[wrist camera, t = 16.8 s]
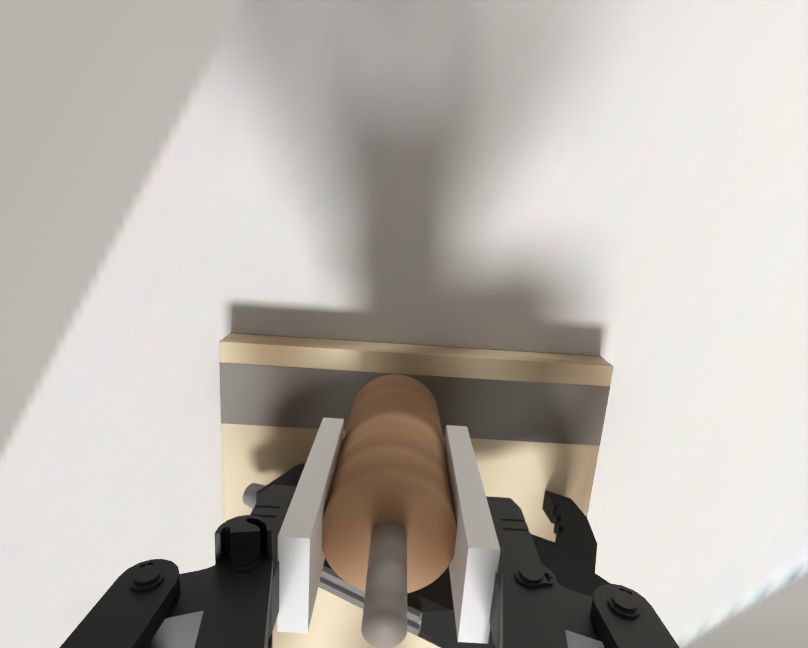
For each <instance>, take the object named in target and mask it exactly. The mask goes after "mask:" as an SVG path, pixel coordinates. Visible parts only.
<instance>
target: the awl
mask: <svg viewBox="0 0 808 648" xmlns="http://www.w3.org/2000/svg"><path fill="white" fill-rule="evenodd" d="M456 533H457V525H456V519H455V512H454V506H453V500H452V493H451V487H450V480H449V474H448V468H447V461H446V455H445V449H444V442H443V436H442V430H441V423H440V417H439V411H438V406H437V402H436V400H435V398H434V396H433V394H432V393H431V391H430V390H429V389H428V388H427V387H426V386H425V385H424V384H422V383H421V382H420V381H418V380H416V379H414V378H412V377H409V376H405V375H399V374H391V375H385V376H381V377H378V378H375V379H374V380H372V381H370V382H369V383H367V384H366V385H365V386H364V387H363V388H362V389H361V390H360V391H359V392H358V394H357V396H356V397H355V400H354V402H353V406H352V409H351V413H350V417H349V421H348V425H347V428H346V432H345V436H344V440H343V444H342V448H341V451H340V455H339V459H338V463H337V467H336V470H335V474H334V478H333V482H332V486H331V490H330V493H329V497H328V501H327V505H326V509H325V512H324V516H323V520H322V550H323V553H324V556H325V558H326V560H327V562H328V564H329V565H330V567H331V568H332V569H333V571H334V572H335V573H336V574H337V575H338V576H339V577H340V578H342V579H343V580H344V581H345V582H347V583H348V584H350V585H352V586H354V587H356V588H358V589H360V590H363V591H365V597H364V607H363V616H362V626H361V632H362V635H363V637H364V639H365V640H366V641H367V642H368V643H369V644H371V645H373V646H375V647H378V648H391V647H394V646H397V645H398V644H400V643H401V642H402V641H403V640H404V639H405V637H406V634H407V593H411V592H414V591H417V590H419V589H421V588H423V587H426V586H427V585H429V584H430V583H432V582H434V581H435V580H436V579H437V578H438V577H440V576H441V574H442V573H443V572H444V571H445V570H446V569H447V567H448V566H449V564H450V563H451V561H452V559H453V557H454V552H455V543H456Z"/></svg>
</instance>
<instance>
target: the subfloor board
mask: <svg viewBox="0 0 808 648" xmlns="http://www.w3.org/2000/svg"><path fill="white" fill-rule="evenodd" d="M219 349H220V396H221V430H222V471H223V512H224V522H226V521H227V520H230V519H232V518H234V517H237V516H243V515H250V514H251V512H252V510H253V509H251V508H250V507H248V506H247V505H245V504H244V503H243V494H244V491H245V489H246V488H247V487H248V486H249V485H250V484H252V483H257V484H261V485H268V484H269V483H271V482H272V481H274V480H275V479H277V478H278V477H280V476H281V475H283V474H284V473H286V472H287V471H289V470H290V469H292V468H293V467H295V466H296V465H299V464H303V463H306V461H307V459H308V456H309V454H310V451H311V448H312V446H313V443H314V441H315V438H316V435H317V433H318V430H319V427H320V425H321V422H322V420H323V418H339V419H344V433H343V440H344V436H345V432H346V428H347V425H348V421H349V417H350V413H351V409H352V406H353V402H354V400H355V397H356V396H357V394H358V392H359V391H360V390H361V389H362V388H363V387H364V386H365V385H366V384H367V383H369V382H370V381H372V380H374V379H375V378H378V377H381V376H385V375H391V374H399V375H405V376H409V377H412V378H414V379H416V380H418V381H420V382H421V383H422V384H424V385H425V386H426V387H427V388H428V389H429V390H430V391H431V393H432V394H433V396H434V398H435V400H436V402H437V406H438V411H439V417H440V423H441V430H442V436H443V442H444V445H445V434H446V425H451V426H467V428H468V432H469V436H470V440H471V443H472V447H473V451H474V454H475V458H476V462H477V465H478V469H479V473H480V476H481V480H482V484H483V487H484V491H485V495H486V496H488V497H504V498H511V499H512V500H513V501H514V502H515V503H516V504H517V505H518V506H519V507H520V508H521V510H522V513H523V515H524V518H525V522H526V523H527V526H528V529H529V532H530V534H533V535H536V536H538V537H541V538H544V539H547V540H550V541H552V542H555V538H556V534H554V531H553V530H554V524H553V523H551V522H550V520H549V519H548V517H547V515H546V514H545V512H544V511H543V509H542V506H543V500H544V494H545V490H546V491H549V492H552V493H555V494H559V495H562V496H565V497H568V498H571V499H572V500H573V501H574V503H575V504H576V505H577V506H578V507H579V509H580V510H581V511H582V512H583V513H584V515H585V516H586V517H587V513H588V508H589V502H590V496H591V491H592V485H593V479H594V474H595V468H596V462H597V457H598V451H599V446H600V441H601V435H602V429H603V424H604V418H605V412H606V406H607V401H608V395H609V389H610V383H611V377H612V371H613V366H612V365H611V364H610V363H608V362H607V361H606V360H604V359H603V358H602V357H601V356H585V355H569V354H553V353H537V352H522V351H506V350H490V349H474V348H458V347H442V346H426V345H410V344H394V343H378V342H362V341H346V340H331V339H315V338H299V337H283V336H267V335H251V334H235V333H230V334H229V335H228V336H226V337H225V338H224V339H222V340H221V341H220V342H219ZM362 616H363V609H362V608H360V607H358V606H356V605H354V604H352V603H350V602H348V601H346V600H344V599H342V598H340V597H338V596H336V595H334V594H332V593H330V592H328V591H326V590H324V589H322V588H320V587H318V591H317V595H316V600H315V604H314V608H313V613H312V617H311V622H310V626H309V631H308V633H291V632H277V619H276V622H275V626H274V629H273V648H378V647H375V646H373V645H371V644H369V643H368V642H367V641H366V640H365V639H364V637H363V635H362V632H361V626H362ZM391 648H440V647H438V646H436V645H434V644H432V643H430V642H428V641H426V640H424V639H422V638H420V637H418V636H416V635H414V634H412V633H410V632H408V631H407V634H406V637H405V639H404V640H403V641H402V642H401V643H400V644H398V645H397V646H394V647H391Z"/></svg>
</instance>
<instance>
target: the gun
mask: <svg viewBox="0 0 808 648" xmlns="http://www.w3.org/2000/svg"><path fill="white" fill-rule="evenodd" d="M305 464H306V463H303V464H299V465H296V466H295V467H293V468H292V469H290V470H289V471H287V472H286V473H284V474H283V475H281V476H280V477H278V478H277V479H275V480H274V481H272V482H271V483H269V484H268V485H261V484H257V483H252V484H250V485H249V486H248V487H247V488H246V489H245V491H244V494H243V503H244V504H245V505H247V506H248V507H250V508H251V509H253V508H254V507H255V504H256V502H257V500H258V498H259V496H260V494H261V493H262V492H263V491H265V490H266V489H267V488H268V487H270V486H271V485H286V486H297V485H298V482H299V480H300V477H301V474H302V472H303V469H304V467H305ZM542 509H543V511H544V512H545V514H546V515H547V517H548V519H549V520H550V522H551V523H553V524H554V530H553V531H554V534H556V538H555V542H552V541H550V540H547V539H544V538H541V537H538V536H536V535H533V534H531V537H532V539H533V542H534V545H535V547H536V550H537V553H538V555H539V558H540V561H541V563H542V565H544V566H546V567H547V568H549V569H550V570H551V572H552V573H553V574H554V575H555V576H556V579H557V581H558V584H560V585H561V586H563V587H565V588H567V589H570V590H572V591H575V592H578V593H582V594H585V595H588V596H592V597H593V595H594V592H595V589H597V588H598V587H599V586H601V585H605V584H610V583H609V582H607V581H606V580H604V579H603V578H601V577H600V576H598V575H597V574H595V563H596V551H597V542H596V540H595V537H594V535H593V532H592V530H591V527H590V525H589V522H588V520H587V517H586V516H585V515H584V513H583V512H582V511H581V510H580V509H579V507H578V506H577V505H576V504H575V503H574V501H573V500H572V499H571V498H568V497H565V496H562V495H559V494H555V493H552V492H549V491H546V490H545V494H544V500H543V506H542ZM318 587H320V588H322V589H324V590H326V591H328V592H330V593H332V594H334V595H336V596H338V597H340V598H342V599H344V600H346V601H348V602H350V603H352V604H354V605H356V606H358V607H360V608H362V609H363V607H364V597H365V591H363V590H360V589H358V588H356V587H354V586H352V585H350V584H348V583H347V582H345V581H344V580H343V579H342V578H340V577H339V576H338V575H337V574H336V573H335V572H334V571H333V569H332V568H331V567H330V565H329V564H328V562H327V560H326V558H325V560H324V564H323V569H322V573H321V578H320V582H319V586H318ZM407 631H408V632H410V633H412V634H414V635H416V636H418V637H420V638H422V639H424V640H426V641H428V642H430V643H432V644H434V645H436V646H438V647H440V648H493V637H492V632H491V627H490V633H489V641H488V644H485V643H468V642H458V639H457V631H456V622H455V614H454V605H453V597H452V588H451V580H450V571H449V566H448V567H447V569H446V570H445V571H444V572H443V573H442V574H441V576H440V577H438V578H437V579H436V580H435V581H434V582H432V583H430V584H429V585H427V586H426V587H423V588H421V589H419V590H417V591H414V592H411V593H407Z"/></svg>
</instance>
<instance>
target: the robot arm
mask: <svg viewBox="0 0 808 648" xmlns="http://www.w3.org/2000/svg"><path fill="white" fill-rule="evenodd" d="M343 433H344V419H339V418H323V420H322V422H321V425H320V427H319V430H318V433H317V435H316V438H315V441H314V443H313V446H312V448H311V451H310V454H309V456H308V459H307V461H306V464H305V467H304V469H303V472H302V474H301V477H300V480H299V482H298V485H297V486H286V485H271V486H270V487H268V488H267V489H266V490H265V491H263V492H262V493H261V494H260V496H259V498H258V500H257V502H256V504H255V507H254V508H253V510H252V512H251V514H250V515H243V516H237V517H234V518H232V519H230V520H227V521H226V522H224V523H223V524H222V525H220V526H219V527H218V529H217V531H216V532H215V559H216V564H215V565H214V566H212V567H210V568H207V569H203V570H199V571H194V572H189V573H183V574H179V570H178V566H177V565H175V564H174V563H173V562H172V561H168V560H164V559H154V560H148V561H145V562H141V563H138V564H136V565H134V566H133V567H131V568H129V569H127V570H126V571H125V572H124V573H123V574H122V575H121V576H119V577H118V579H117V580H116V581H115V582H114V583H113V585H112V586H111V587H110V588H109V589H108V591H107V592H106V593H105V594H104V595H103V597H102V598H101V599H100V600H99V601H98V603H97V604H96V605H95V606H94V607H93V608H92V610H91V611H90V612H89V613H88V614H87V616H86V617H85V618H84V619H83V620H82V622H81V623H80V624H79V625H78V626H77V628H76V629H75V630H74V631H73V632H72V634H71V635H70V636H69V637H68V638H67V640H66V641H65V642H64V643H63V644H62V645H61V647H60V648H273V629H274V626H275V622H276V619H277V632H291V633H308V631H309V626H310V622H311V617H312V613H313V608H314V604H315V600H316V595H317V591H318V586H319V582H320V578H321V573H322V569H323V564H324V560H325V556H324V553H323V550H322V520H323V516H324V512H325V509H326V505H327V501H328V497H329V493H330V490H331V486H332V482H333V478H334V474H335V470H336V467H337V463H338V459H339V455H340V451H341V448H342V444H343ZM444 449H445V455H446V461H447V468H448V474H449V480H450V487H451V493H452V500H453V506H454V512H455V519H456V525H457V533H456V543H455V552H454V557H453V559H452V561H451V563H450V564H449V571H450V580H451V588H452V597H453V605H454V614H455V622H456V631H457V639H458V642H468V643H485V644H488V641H489V633H490V627H491V632H492V637H493V648H679V646H678V645H677V643H676V642H675V640H674V639H673V637H672V636H671V634H670V633H669V631H668V630H667V628H666V627H665V625H664V624H663V622H662V621H661V619H660V618H659V616H658V615H657V614H656V612H655V611H654V609H653V608H652V606H651V605H650V604H649V603H648V602H647V601H646V599H645V598H644V597H642V596H641V595H639V594H638V593H637V592H635V591H634V590H631V589H629V588H627V587H624V586H622V585H615V584H605V585H601V586H599V587H598V588H597V589H595V592H594V595H593V597H592V596H588V595H585V594H582V593H578V592H575V591H572V590H570V589H567V588H565V587H563V586H561V585H560V584H558V581H557V579H556V576H555V575H554V574H553V573H552V572H551V570H550V569H549V568H547V567H546V566H544V565H542V563H541V561H540V558H539V555H538V553H537V550H536V547H535V545H534V542H533V539H532V537H531V534H530V532H529V529H528V526H527V523H526V522H525V518H524V515H523V513H522V510H521V508H520V507H519V506H518V505H517V504H516V503H515V502H514V501H513V500H512V499H511V498H504V497H488V496H486V495H485V491H484V487H483V484H482V480H481V476H480V473H479V469H478V465H477V462H476V458H475V454H474V451H473V447H472V443H471V440H470V436H469V432H468V428H467V426H451V425H446V434H445V445H444Z"/></svg>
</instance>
